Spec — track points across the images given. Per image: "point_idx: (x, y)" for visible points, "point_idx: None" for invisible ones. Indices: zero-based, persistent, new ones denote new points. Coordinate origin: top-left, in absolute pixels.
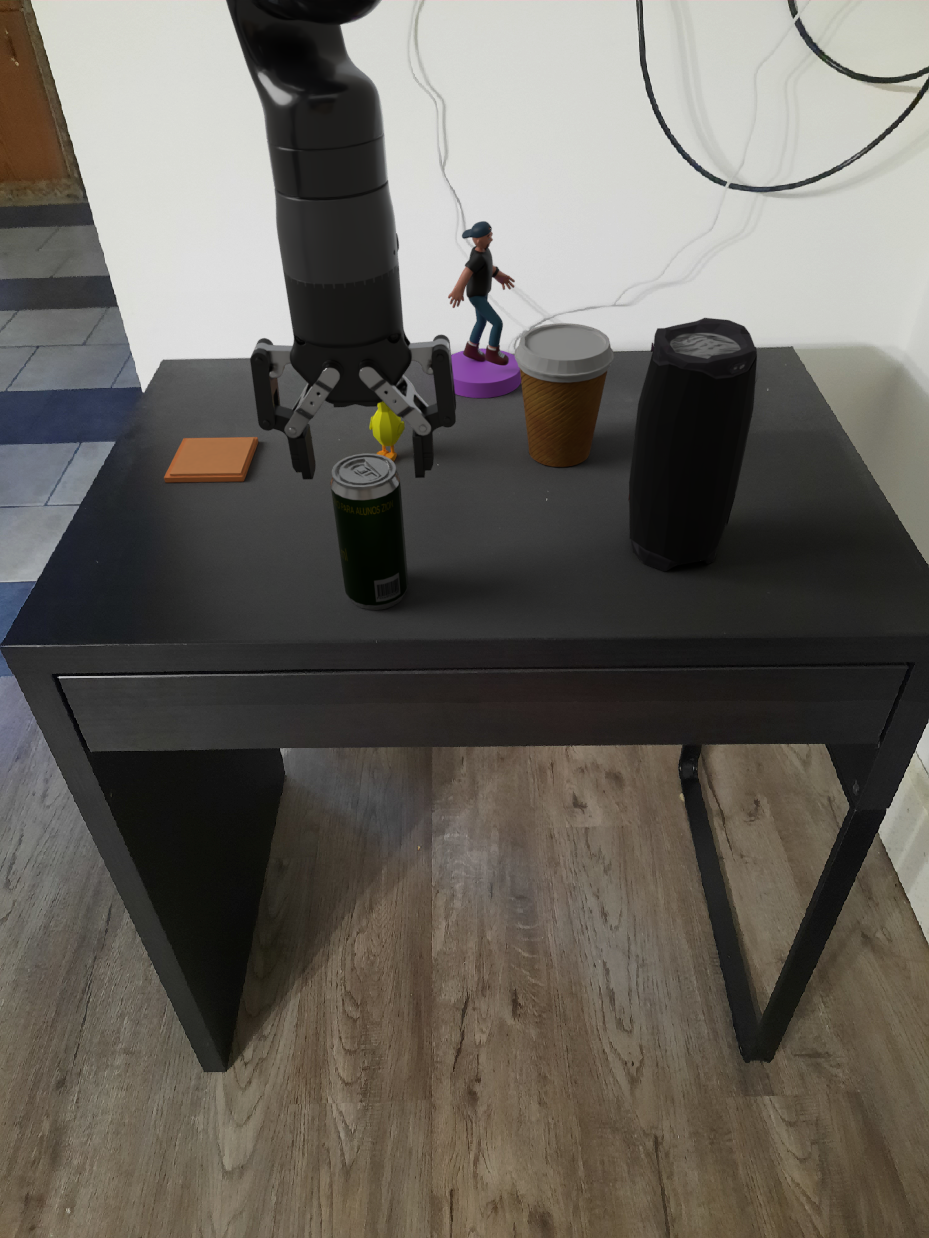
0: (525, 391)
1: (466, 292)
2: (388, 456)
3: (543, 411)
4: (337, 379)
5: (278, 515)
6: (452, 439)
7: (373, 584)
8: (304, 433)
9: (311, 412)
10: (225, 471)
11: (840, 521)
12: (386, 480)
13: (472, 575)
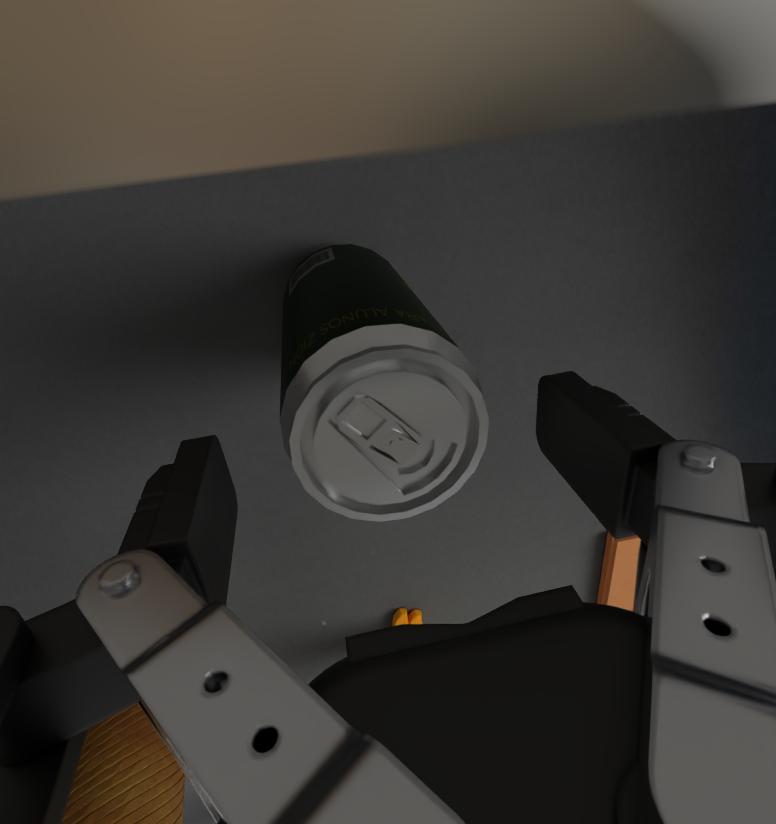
0: (162, 797)
1: None
2: (402, 621)
3: (122, 761)
4: (662, 774)
5: (547, 470)
6: (316, 675)
7: (335, 255)
8: (632, 481)
9: (683, 523)
10: (639, 540)
11: None
12: (304, 400)
13: (177, 377)
